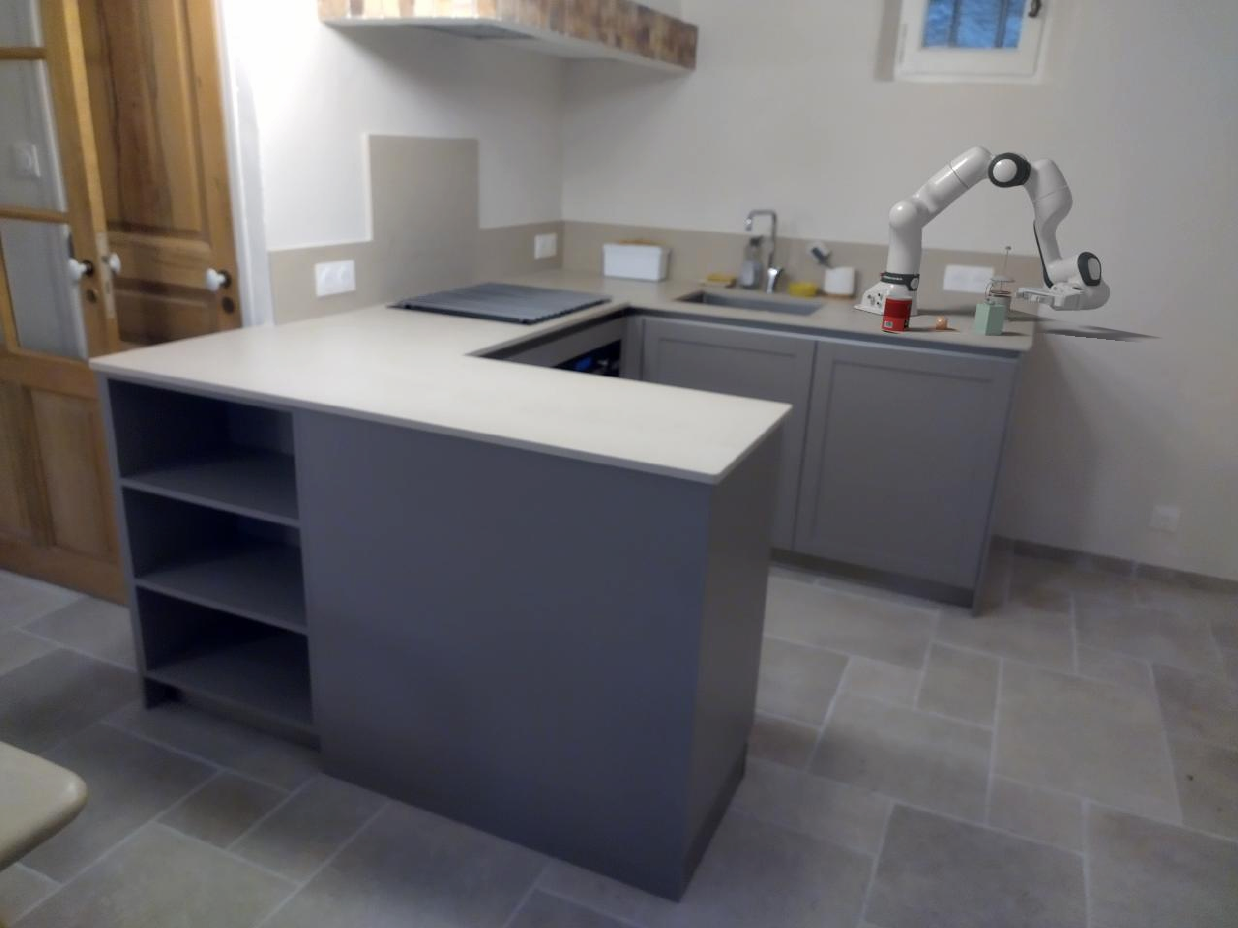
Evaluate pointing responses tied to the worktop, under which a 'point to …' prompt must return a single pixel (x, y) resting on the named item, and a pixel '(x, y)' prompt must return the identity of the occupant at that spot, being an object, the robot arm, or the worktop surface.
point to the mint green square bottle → (989, 318)
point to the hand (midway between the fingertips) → (1026, 297)
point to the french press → (1001, 299)
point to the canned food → (897, 313)
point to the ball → (941, 323)
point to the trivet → (941, 330)
